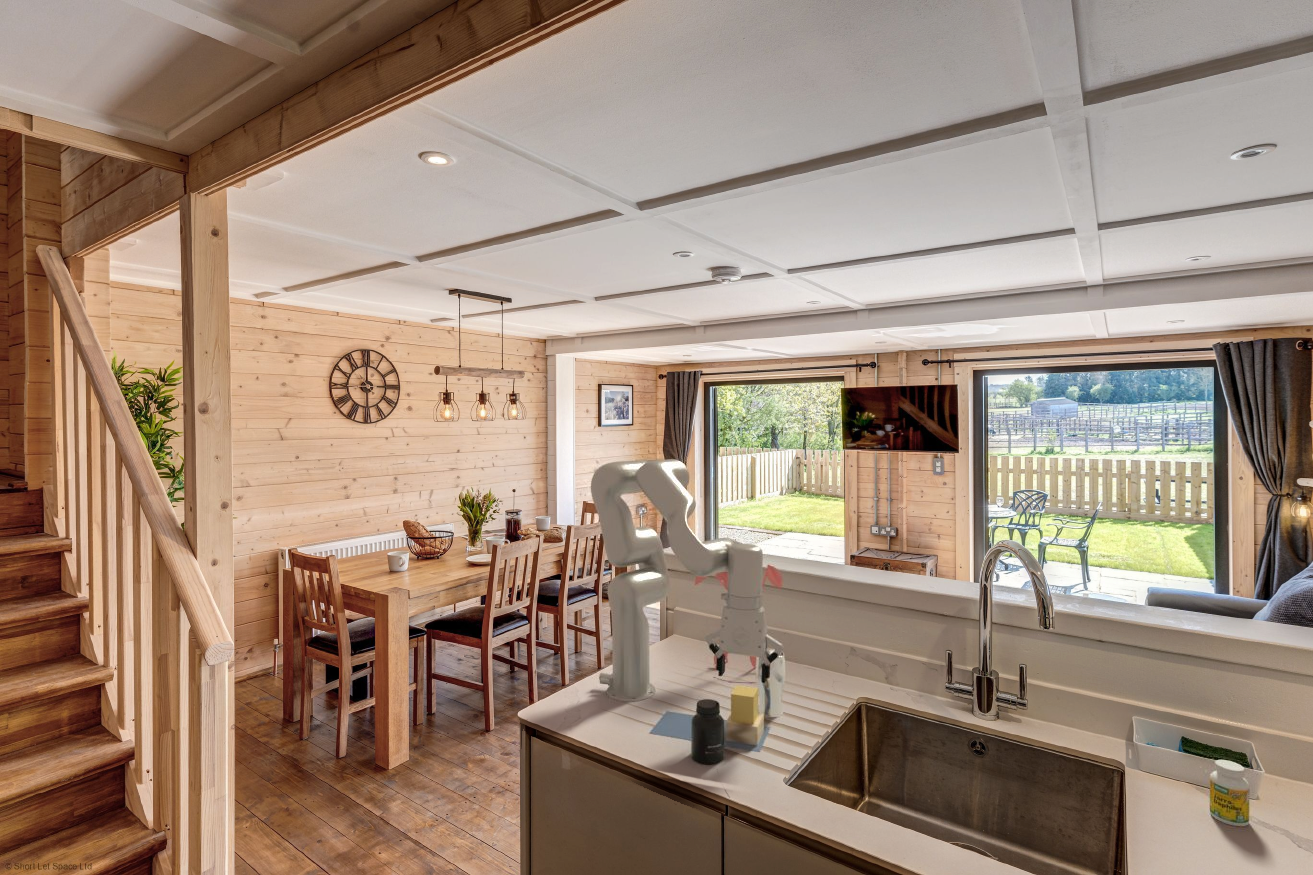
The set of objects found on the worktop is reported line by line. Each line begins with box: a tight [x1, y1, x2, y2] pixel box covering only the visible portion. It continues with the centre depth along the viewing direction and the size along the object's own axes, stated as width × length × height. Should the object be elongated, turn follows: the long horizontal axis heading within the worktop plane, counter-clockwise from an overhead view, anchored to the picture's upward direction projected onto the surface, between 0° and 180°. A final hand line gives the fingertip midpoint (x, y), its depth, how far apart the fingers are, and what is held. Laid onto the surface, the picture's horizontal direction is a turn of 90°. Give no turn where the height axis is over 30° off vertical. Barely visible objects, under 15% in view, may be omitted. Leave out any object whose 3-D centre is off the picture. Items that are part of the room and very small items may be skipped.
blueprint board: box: [648, 710, 771, 753], centre depth 153 cm, size 25×12×1 cm, turn 70°
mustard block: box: [730, 685, 759, 725], centre depth 150 cm, size 5×5×6 cm
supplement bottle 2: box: [1209, 759, 1251, 827], centre depth 120 cm, size 5×5×10 cm
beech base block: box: [726, 713, 765, 746], centre depth 150 cm, size 7×7×4 cm
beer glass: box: [755, 647, 786, 718], centre depth 162 cm, size 7×7×15 cm
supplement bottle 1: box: [690, 698, 725, 766], centre depth 141 cm, size 7×7×12 cm
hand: (742, 677), depth 150 cm, fingers open, 9 cm apart
